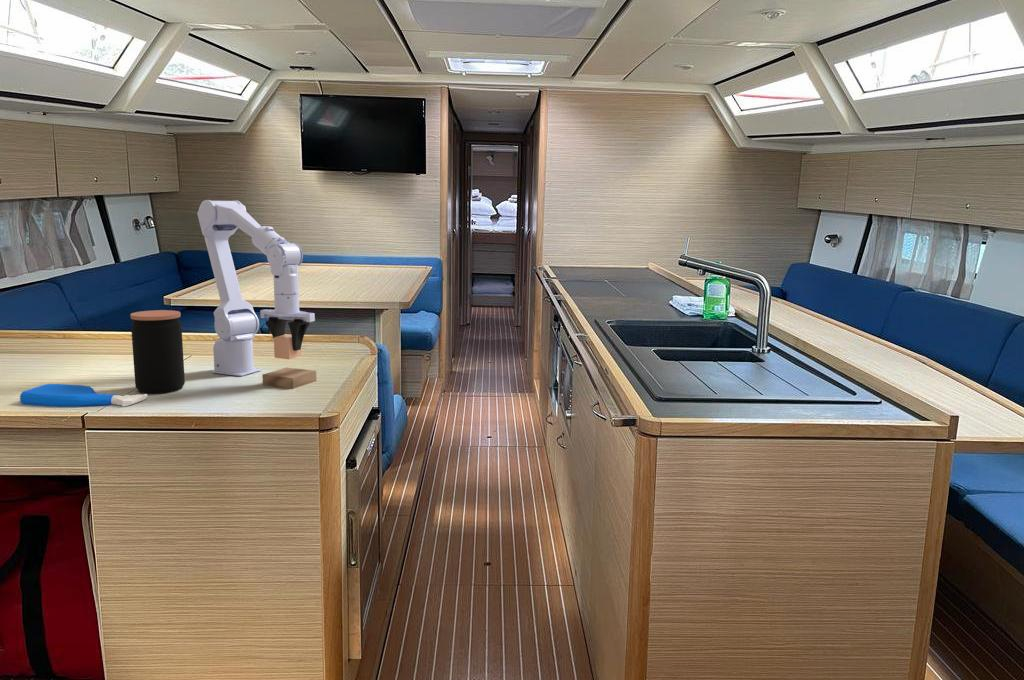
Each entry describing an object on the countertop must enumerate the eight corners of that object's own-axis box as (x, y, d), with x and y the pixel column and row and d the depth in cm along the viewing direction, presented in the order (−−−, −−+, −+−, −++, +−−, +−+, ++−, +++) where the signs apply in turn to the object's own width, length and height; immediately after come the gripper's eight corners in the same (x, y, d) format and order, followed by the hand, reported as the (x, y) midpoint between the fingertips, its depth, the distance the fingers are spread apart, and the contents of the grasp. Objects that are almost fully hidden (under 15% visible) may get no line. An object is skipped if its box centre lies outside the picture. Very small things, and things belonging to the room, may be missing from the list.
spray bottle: (14, 393, 165) (122, 400, 162) (50, 382, 175) (151, 388, 173) (15, 406, 165) (122, 413, 162) (51, 394, 176) (152, 401, 173)
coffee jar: (195, 386, 184) (191, 311, 181) (161, 396, 174) (156, 317, 171) (159, 382, 187) (154, 309, 184) (124, 392, 177) (119, 314, 174)
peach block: (274, 357, 186) (273, 337, 185) (286, 354, 190) (285, 334, 189) (289, 359, 185) (288, 338, 184) (300, 355, 189) (300, 335, 188)
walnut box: (262, 386, 187) (262, 374, 186) (287, 379, 195) (286, 367, 194) (293, 390, 183) (292, 378, 183) (316, 382, 191) (316, 370, 191)
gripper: (250, 293, 184) (253, 349, 186) (301, 297, 179) (303, 354, 181) (270, 290, 190) (272, 344, 193) (319, 294, 185) (321, 349, 188)
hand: (288, 349), depth 187 cm, fingers closed on peach block, 4 cm apart
